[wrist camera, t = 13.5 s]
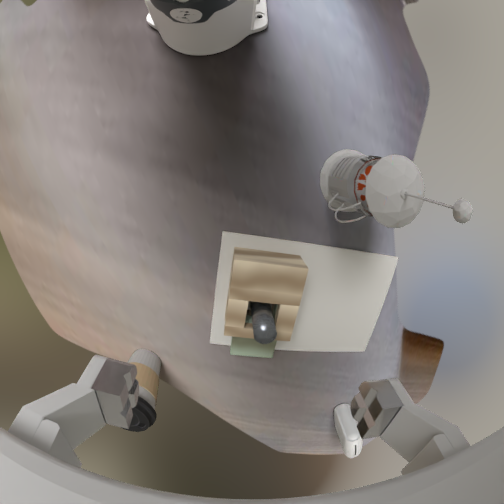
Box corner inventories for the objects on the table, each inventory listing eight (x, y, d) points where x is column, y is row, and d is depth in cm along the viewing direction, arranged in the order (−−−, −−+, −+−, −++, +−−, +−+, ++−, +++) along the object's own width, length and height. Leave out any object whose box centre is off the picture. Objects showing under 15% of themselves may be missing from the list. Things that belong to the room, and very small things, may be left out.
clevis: (234, 246, 41) (234, 259, 36) (299, 255, 42) (308, 268, 37) (221, 340, 46) (220, 360, 41) (278, 345, 47) (282, 365, 42)
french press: (386, 192, 40) (507, 232, 16) (330, 230, 42) (425, 311, 18) (358, 137, 37) (482, 128, 14) (297, 176, 39) (384, 200, 15)
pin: (251, 289, 43) (255, 324, 34) (269, 291, 44) (279, 326, 34) (248, 305, 44) (252, 343, 35) (266, 307, 45) (274, 344, 35)
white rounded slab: (349, 422, 58) (363, 458, 46) (334, 427, 58) (346, 464, 46) (349, 400, 55) (366, 439, 43) (332, 405, 55) (346, 446, 43)
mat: (222, 230, 41) (222, 231, 40) (397, 256, 44) (398, 257, 43) (209, 341, 47) (209, 343, 46) (363, 350, 50) (364, 351, 49)
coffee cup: (170, 380, 50) (156, 439, 35) (126, 372, 49) (104, 426, 34) (169, 345, 47) (151, 406, 32) (121, 336, 46) (91, 391, 32)
